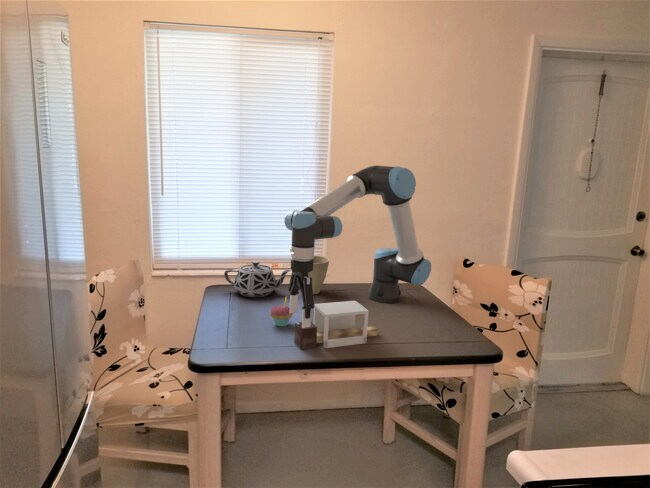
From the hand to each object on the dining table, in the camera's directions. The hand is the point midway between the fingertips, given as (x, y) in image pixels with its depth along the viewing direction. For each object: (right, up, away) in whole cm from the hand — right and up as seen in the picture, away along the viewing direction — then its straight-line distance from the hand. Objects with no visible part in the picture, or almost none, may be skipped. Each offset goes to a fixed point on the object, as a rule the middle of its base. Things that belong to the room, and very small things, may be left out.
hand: (299, 319), depth 154 cm
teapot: (-22, +3, +54) cm, 59 cm away
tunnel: (+14, -8, +7) cm, 18 cm away
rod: (+16, -8, +9) cm, 20 cm away
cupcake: (-8, -5, +19) cm, 21 cm away
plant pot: (+2, +3, +60) cm, 60 cm away
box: (+2, -9, +2) cm, 10 cm away
